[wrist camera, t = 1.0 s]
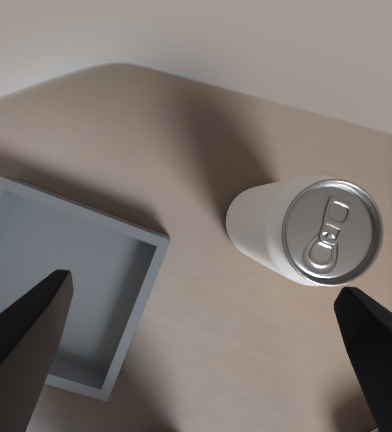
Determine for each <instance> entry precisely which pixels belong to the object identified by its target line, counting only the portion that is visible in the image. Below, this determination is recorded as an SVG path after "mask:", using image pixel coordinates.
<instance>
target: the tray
mask: <svg viewBox="0 0 392 432" xmlns="http://www.w3.org/2000/svg"><path fill="white" fill-rule="evenodd" d="M170 241H171V240H170V236H167V235H165V234H162V233H159V232H157V231H154V230H151V229H149V228H146V227H143V226H141V225H138V224H135V223H133V222H130V221H128V220H125V219H122V218H120V217H117V216H114V215H112V214H109V213H106V212H104V211H101V210H98V209H96V208H93V207H91V206H88V205H85V204H83V203H80V202H77V201H75V200H72V199H69V198H67V197H64V196H61V195H59V194H56V193H54V192H51V191H48V190H46V189H43V188H40V187H38V186H35V185H32V184H30V183H27V182H24V181H22V180H19V179H14V178H9V177H4V176H0V313H1V312H2V311H4V310H5V309H6V308H7V307H9V306H10V305H11V304H12V303H14V302H15V301H16V300H18V299H19V298H20V297H21V296H23V295H24V294H25V293H26V292H28V291H29V290H30V289H32V288H33V287H34V286H35V285H37V284H38V283H39V282H40V281H42V280H43V279H44V278H46V277H47V276H48V275H49V274H51V273H52V272H53V271H55V270H57V269H64V270H70V271H71V273H72V281H73V289H74V291H73V297H72V301H71V305H70V308H69V312H68V316H67V319H66V323H65V327H64V331H63V334H62V338H61V341H60V344H59V347H58V350H57V352H56V355H55V358H54V360H53V363H52V365H51V368H50V370H49V373H48V375H47V378H46V380H45V383H44V384H47V385H50V386H54V387H57V388H60V389H64V390H67V391H70V392H74V393H77V394H80V395H84V396H87V397H90V398H94V399H97V400H100V401H104V402H108V399H109V397H110V394H111V392H112V389H113V387H114V384H115V382H116V379H117V376H118V374H119V371H120V369H121V366H122V364H123V361H124V358H125V356H126V353H127V351H128V348H129V346H130V343H131V341H132V338H133V335H134V333H135V330H136V328H137V325H138V323H139V320H140V317H141V315H142V312H143V310H144V307H145V305H146V302H147V300H148V297H149V294H150V292H151V289H152V287H153V284H154V282H155V279H156V277H157V274H158V271H159V269H160V266H161V264H162V261H163V259H164V256H165V253H166V251H167V248H168V246H169V243H170Z"/></svg>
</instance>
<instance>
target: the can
mask: <svg viewBox="0 0 392 432" xmlns="http://www.w3.org/2000/svg"><path fill="white" fill-rule="evenodd" d="M226 229H227V233H228V236H229V238H230V240H231V242H232V243H233V244H234V245H235V247H236V248H237V249H238V250H240V251H241V252H242V253H244V254H246V255H247V256H249V257H251V258H253V259H254V260H256V261H258V262H260V263H261V264H263V265H265V266H267V267H268V268H270V269H272V270H274V271H276V272H277V273H279V274H281V275H283V276H285V277H286V278H288V279H291V280H293V281H295V282H298V283H301V284H304V285H309V286H341V285H345V284H348V283H351V282H353V281H355V280H357V279H358V278H360V277H361V276H362V275H364V274H365V273H366V272H367V271H368V270H369V269H370V268H371V266H372V265H373V264H374V262H375V260H376V259H377V257H378V254H379V252H380V249H381V246H382V241H383V222H382V217H381V214H380V211H379V209H378V207H377V205H376V203H375V202H374V200H373V199H372V197H371V196H370V195H369V194H368V193H367V192H366V191H365V190H364V189H362V188H361V187H359V186H358V185H356V184H354V183H351V182H349V181H345V180H340V179H337V178H334V177H331V176H326V175H309V176H303V177H298V178H293V179H288V180H283V181H279V182H274V183H270V184H265V185H261V186H257V187H253V188H250V189H247V190H245V191H243V192H242V193H240V194H239V195H238V196H237V197H236V198H235V199H234V200H233V201H232V203H231V204H230V206H229V209H228V211H227V215H226Z"/></svg>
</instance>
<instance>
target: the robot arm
mask: <svg viewBox="0 0 392 432" xmlns="http://www.w3.org/2000/svg"><path fill="white" fill-rule="evenodd" d="M73 291H74V289H73V281H72V273H71V271H70V270H64V269H57V270H55V271H53V272H52V273H51V274H49V275H48V276H47V277H46V278H44V279H43V280H42V281H40V282H39V283H38V284H37V285H35V286H34V287H33V288H32V289H30V290H29V291H28V292H26V293H25V294H24V295H23V296H21V297H20V298H19V299H18V300H16V301H15V302H14V303H12V304H11V305H10V306H9V307H7V308H6V309H5V310H4V311H2V312H1V313H0V432H25V431H26V429H27V426H28V423H29V421H30V418H31V416H32V413H33V411H34V408H35V406H36V403H37V401H38V398H39V396H40V393H41V391H42V388H43V385H44V383H45V380H46V378H47V375H48V373H49V370H50V368H51V365H52V363H53V360H54V358H55V355H56V352H57V350H58V347H59V344H60V341H61V338H62V334H63V331H64V327H65V323H66V319H67V316H68V312H69V308H70V305H71V301H72V297H73ZM334 311H335V314H336V318H337V321H338V324H339V328H340V331H341V334H342V338H343V341H344V345H345V348H346V351H347V354H348V356H349V359H350V361H351V364H352V366H353V369H354V371H355V374H356V376H357V379H358V381H359V384H360V386H361V389H362V391H363V393H364V396H365V398H366V401H367V403H368V406H369V408H370V411H371V413H372V416H373V418H374V421H375V423H376V426H377V428H378V430H379V432H392V313H391V312H390V311H389V310H387V309H386V308H385V307H383V306H382V305H380V304H379V303H378V302H376V301H375V300H374V299H372V298H371V297H369V296H368V295H367V294H365V293H364V292H363V291H361V290H360V289H358V288H356V287H344V288H342V290H341V291H340V293H339V295H338V297H337V298H336V300H335V302H334Z"/></svg>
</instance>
